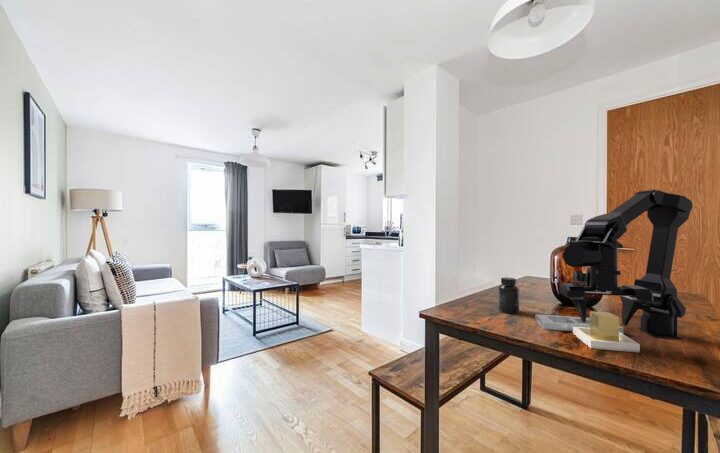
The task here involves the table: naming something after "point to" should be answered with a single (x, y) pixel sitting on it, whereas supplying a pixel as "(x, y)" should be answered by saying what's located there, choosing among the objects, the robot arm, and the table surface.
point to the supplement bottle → (508, 296)
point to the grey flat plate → (563, 322)
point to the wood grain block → (604, 326)
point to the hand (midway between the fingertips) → (603, 323)
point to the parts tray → (622, 345)
